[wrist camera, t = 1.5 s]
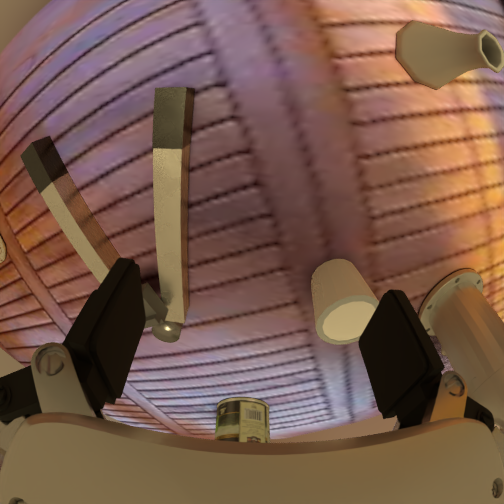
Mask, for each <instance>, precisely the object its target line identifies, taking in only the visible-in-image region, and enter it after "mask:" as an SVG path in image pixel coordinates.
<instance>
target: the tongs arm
mask: <svg viewBox="0 0 504 504" xmlns="http://www.w3.org/2000/svg"><path fill="white" fill-rule="evenodd" d="M194 93H195V89H194V88H187V87H169V88H155V100H154V117H153V147H152V148H153V187H154V217H155V235H156V249H157V261H158V272H159V282H160V291H161V299H162V302H163V303H164V304H165V306H166V307H167V308H168V309H169V310H168V313H167V316H166V319H165V321H171V322H179V323H185V320H186V316H187V312H188V308H189V291H188V237H187V231H188V177H189V154H190V143H191V130H192V116H193V104H194Z"/></svg>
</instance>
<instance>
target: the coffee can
mask: <svg viewBox="0 0 504 504" xmlns="http://www.w3.org/2000/svg"><path fill="white" fill-rule="evenodd" d="M215 440H220V441H233V442H252V443H270V430H269V406H268V404H267V403H265V402H264V401H261V400H258V399H254V398H247V397H235V398H229V399H225V400H222V401H221V402H219V403H218V405H217V418H216V430H215Z"/></svg>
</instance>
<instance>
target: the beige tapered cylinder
mask: <svg viewBox="0 0 504 504" xmlns="http://www.w3.org/2000/svg"><path fill="white" fill-rule="evenodd" d="M311 289H312V298H313V307H314V317H315V327H316V331H317V334H318V336H319V337H320V338H321V339H322V340H324V341H325V342H328V343H331V344H335V345H336V344H349V343H352V342H355V341H358V340H359V338H360V336H361V334H362V333H363V331H364V329H365V328H366V326H367V324H368V322H369V321H370V319H371V317H372V315H373V313H374V312H375V310H376V308H377V306H378V304H379V301H378V300H377V298H376V297H375V295H374V294H373V292H372V291H371V289H370V288H369V286H368V285H367V283H366V282H365V280H364V279H363V277H362V276H361V274H360V273H359V272H358V270H357V269H356V267H355V266H354V265H353V264H352V262H349V261H347V260H345V259H333V260H330V261H326V262H324V263H323V264H322V265H320V266H319V267H317V269H316V270H315V272H314V273H313V275H312V279H311Z"/></svg>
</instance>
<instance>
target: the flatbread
mask: <svg viewBox="0 0 504 504" xmlns="http://www.w3.org/2000/svg"><path fill="white" fill-rule="evenodd" d="M5 257H6V246H5V243H4V242H3V240H2V238H1V236H0V263H1V262H3V261H4V260H5Z"/></svg>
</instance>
